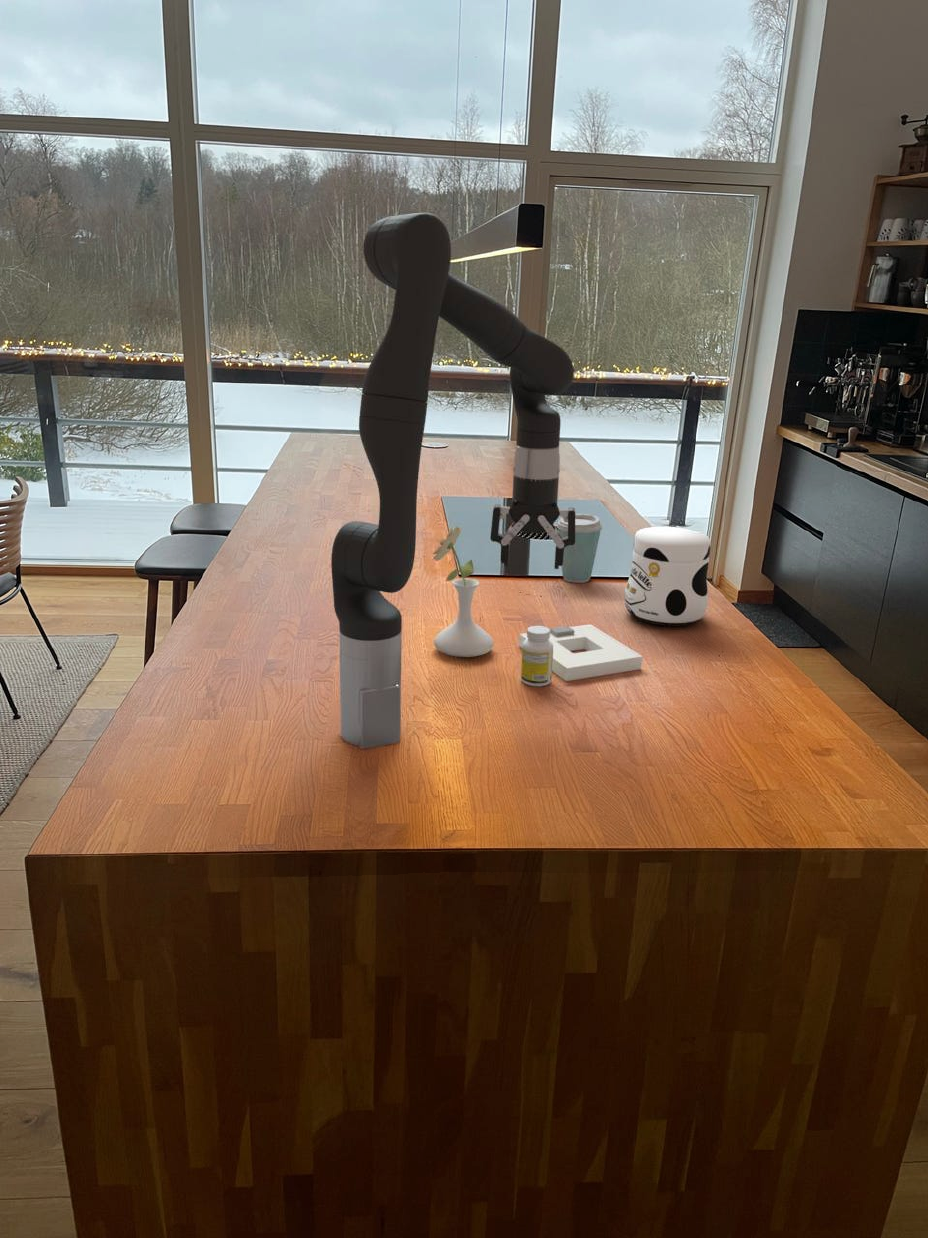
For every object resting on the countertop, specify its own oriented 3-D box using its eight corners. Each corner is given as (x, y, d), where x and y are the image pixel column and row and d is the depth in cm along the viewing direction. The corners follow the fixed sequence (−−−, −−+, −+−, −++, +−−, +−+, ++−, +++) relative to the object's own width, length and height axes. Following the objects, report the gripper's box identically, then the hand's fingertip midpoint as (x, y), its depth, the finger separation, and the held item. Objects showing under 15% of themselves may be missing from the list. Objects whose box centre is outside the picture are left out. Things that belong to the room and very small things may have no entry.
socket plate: (641, 669, 175) (642, 652, 173) (565, 681, 168) (567, 664, 167) (589, 635, 190) (590, 620, 189) (518, 646, 183) (519, 630, 182)
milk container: (606, 616, 201) (614, 534, 195) (651, 599, 213) (659, 521, 207) (678, 638, 190) (688, 552, 184) (720, 618, 202) (731, 537, 196)
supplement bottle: (532, 672, 171) (535, 621, 168) (557, 680, 168) (560, 629, 165) (514, 681, 168) (517, 629, 164) (539, 690, 164) (542, 637, 161)
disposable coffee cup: (576, 588, 219) (581, 525, 213) (543, 577, 226) (547, 515, 221) (607, 580, 225) (612, 519, 220) (573, 569, 233) (578, 510, 228)
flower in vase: (463, 636, 188) (468, 512, 179) (505, 652, 180) (512, 524, 172) (414, 652, 179) (416, 523, 170) (456, 670, 171) (460, 536, 163)
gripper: (579, 470, 159) (572, 562, 165) (494, 466, 160) (491, 558, 166) (580, 479, 152) (573, 575, 158) (491, 475, 153) (488, 571, 159)
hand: (531, 566), depth 162 cm, fingers open, 8 cm apart
